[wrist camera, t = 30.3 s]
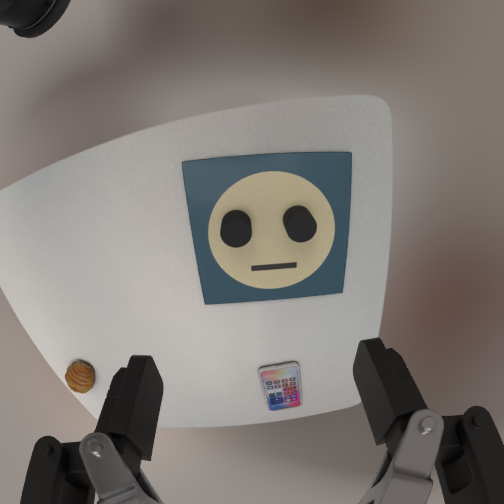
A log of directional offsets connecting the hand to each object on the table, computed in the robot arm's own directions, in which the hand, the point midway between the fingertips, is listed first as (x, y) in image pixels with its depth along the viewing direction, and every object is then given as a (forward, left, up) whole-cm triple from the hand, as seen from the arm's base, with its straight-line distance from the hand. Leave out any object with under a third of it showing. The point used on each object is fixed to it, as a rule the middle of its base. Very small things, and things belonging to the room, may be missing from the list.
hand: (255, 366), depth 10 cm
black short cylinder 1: (+4, -1, -25) cm, 26 cm away
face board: (+6, +3, -26) cm, 27 cm away
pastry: (+34, -38, -26) cm, 57 cm away
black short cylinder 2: (+4, +6, -25) cm, 26 cm away
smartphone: (+38, +4, -26) cm, 46 cm away
